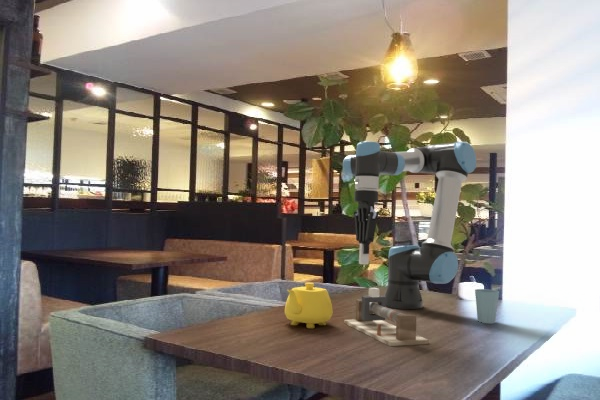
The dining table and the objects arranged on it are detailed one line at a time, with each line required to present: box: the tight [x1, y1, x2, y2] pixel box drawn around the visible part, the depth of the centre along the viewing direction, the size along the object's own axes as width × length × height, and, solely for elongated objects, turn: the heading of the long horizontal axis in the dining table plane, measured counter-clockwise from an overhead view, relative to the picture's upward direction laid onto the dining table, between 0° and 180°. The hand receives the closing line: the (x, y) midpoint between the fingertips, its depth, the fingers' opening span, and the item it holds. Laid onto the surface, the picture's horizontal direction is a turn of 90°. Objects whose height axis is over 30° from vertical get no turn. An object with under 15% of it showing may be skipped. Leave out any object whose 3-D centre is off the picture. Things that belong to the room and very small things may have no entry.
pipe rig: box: [343, 298, 430, 347], centre depth 154 cm, size 29×12×8 cm, turn 20°
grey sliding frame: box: [361, 287, 387, 321], centre depth 160 cm, size 2×7×10 cm, turn 110°
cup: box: [474, 288, 500, 324], centre depth 175 cm, size 8×8×10 cm
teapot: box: [284, 282, 334, 329], centre depth 161 cm, size 14×20×13 cm
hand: (363, 264), depth 167 cm, fingers closed
